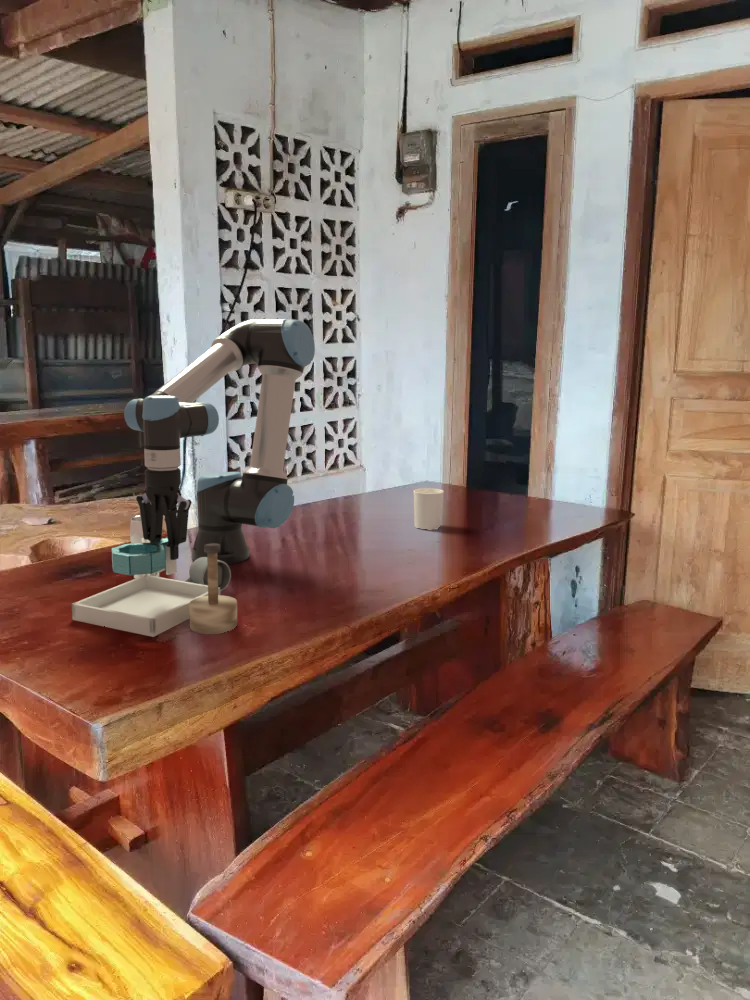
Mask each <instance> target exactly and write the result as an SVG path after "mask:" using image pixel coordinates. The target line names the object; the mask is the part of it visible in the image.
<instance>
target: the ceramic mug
mask: <svg viewBox="0 0 750 1000" xmlns="http://www.w3.org/2000/svg"><path fill="white" fill-rule="evenodd" d="M217 563H218V587H219V588H220V593H221V592H223V591H224V590H226V588H227V587H228V586H229V584H230V582H231V578H232V573H231V572H232V570H231V568H230V566H229V564H226V563H225V562H223V561H220V560H217ZM188 574H189V578H186V580H184V581H185V582H190V583H196V584H202V585H208V564H207V557H201V558H198V559H196V560H195V561H194V560H193V562H192V563H191V565H190V566H189V572H188Z"/></svg>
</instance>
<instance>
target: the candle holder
mask: <svg viewBox="0 0 750 1000" xmlns="http://www.w3.org/2000/svg"><path fill="white" fill-rule="evenodd" d="M412 492H413V520H414V528H415V527H416V528H415V529H417V528H421V529H435V528H439V527H440V528H441V523H442V514H443V504H444V494H445V490H443V489H440V488H435V487H434V488H433V487H419V488H415V489H413V491H412ZM440 528H439V529H440ZM421 529H420V530H421Z"/></svg>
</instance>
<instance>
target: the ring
mask: <svg viewBox="0 0 750 1000" xmlns="http://www.w3.org/2000/svg"><path fill="white" fill-rule="evenodd" d="M166 544H168V537H165V538H164V539H161V540H158V541H155V542H152V543H132V544H131V543H125V544H120V545H118V546H115V547H112V548H111V562H112V564H111V566H112V567H111V568H112V572H113V573H115V574H121V575H126V576H134V575H140V574H151V573H155V572H157V571H160V570H162V569H165V570H166V549H165V546H167V545H166Z"/></svg>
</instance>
